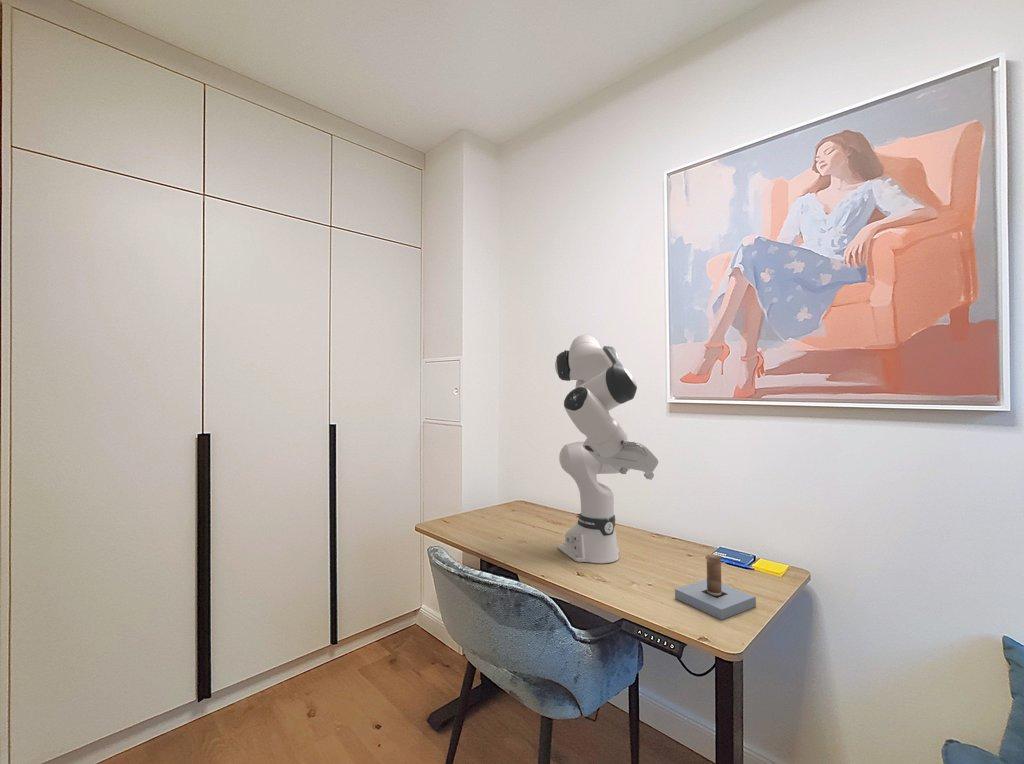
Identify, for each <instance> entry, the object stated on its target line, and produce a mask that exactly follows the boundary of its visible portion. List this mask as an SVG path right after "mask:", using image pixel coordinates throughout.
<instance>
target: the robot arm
mask: <svg viewBox="0 0 1024 764" xmlns="http://www.w3.org/2000/svg"><path fill="white" fill-rule="evenodd" d="M554 367H555V368H554V369H555V373H556V375H557V376H558V378H559V379H560V380H561V381H566V382H567V381H568V382H570V381H576V383H575V388H574V389H572V390H570V391H569V393H567V394H566V396H565V398H564V401H563V408H564V410H565V412H566V413H567V415H568V416H569V419H570V420H571V421H572V423H573V424H574V426H575V427H576V429H577V430H578V431H579V432H580V433H581V434H583V435H584V436H585V437H586V439H585V441H577V442H571V443H567V444H565V445H563V446H562V448H561V449H560V452H559V458H558V459H559V464H560V467H561V468H562V470H563V471H564V472H565V473H567V474H568V475H569V476H570V477H571V478H572V479H573V480H574V482H575V484H576V485H577V487H578V492H579V498H580V513H577V514H575V515H576V516H575V518H578V519H577V523H576V524H575V525H574V526H572V527H571V528H569V529H568V530H567V531H566V533H565V536H564V537H565V539H564V542H562V543H560V544H559V545H558V548H557V549H558V550H560V551H561V552H563V553H564V554H565V555H566V556H568V557H569V558H570V559H572V560H573V561H575V562H577V563H584V562H585V563H590V564H591V563H592V564H609V563H613V562H616V561H618V560H619V559H620V555H619V554H620V549H619V547H618V539H617V538H618V537H617V531H616V528H615V527H616V515H615V514H614V508H615V507H614V502H615V501H614V492H613V491H612V489H611V488H610V487H608V486H607V485H605V484H603V483H601V482H599V481H598V480H597V478H598V477H597V475H599V474H600V475H606V474H608V475H609V474H620V475H627V472H629V471H630V470H636V471H639V472H643V473H644V474H643V476H644V477H645V479H647V480H652V479H654V476H655V473H654V471H655V470H656V468H657V466H658V465H659V460H658V458H657V457H656V456H655V454H653V452H652V451H651V450H650V449H649V448H648V447H647V446H646V445H644V444H642V443H641V442H636V441H629V440H628V439H629V438H628V434H627V433H626V432H625V430H624V429H623V428H622V427H621V425H620V424H619V422H618V421H617V420H616V419H615V418H613V417H612V416H611V415H610V412H609V411H611V410H613V409H615V408H616V407H618V406H620V405H622V404H625V403H627V402H629V401H631V400H633V399H634V398H635V396H636V393H637V390H638V386H637V382H636V379H635V377H634V375H633V374H632V373H631V372H630V371H629V369H627V368H625V367H624V365H623V364H622V363H621V361H620V358H619V355H618V352H617V351H616V349H615V348H614V347H613V346H609V345H607V346H605V345H604V346H601V344H600V343H599V341H598V340H597V339H596V338H595V337H594V336H592V335H590V334H580V335H578V336H576V338H574V340H573V341H572V342H571V344H570V347H569V350H567V349H565V350H564V351H561V352H559V354H557V356H556V359H555V363H554Z"/></svg>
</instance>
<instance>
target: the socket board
mask: <svg viewBox="0 0 1024 764" xmlns="http://www.w3.org/2000/svg"><path fill="white" fill-rule="evenodd" d="M721 591H722V597H719V598H715V597H713V596H710V595H708V594H707V578H705V579H702V580H699V581H696V582H693V583H689V584H687V585H683V586H679V587H677V588H674V599H675V600H677V601H680V602H682V603H684V604H686V605H688V606H690V607H693V608H694V609H697V610H699V611H701V612H704V613H705V614H707V615H710V616H712V617H714V618H717V620H718V619H719V620H721V621H723V620H725V619H728V618H730V617H733V616H736V615H737V614H740V613H743V612H746V611H749V610H751V609H753V608H755V607H757V597H756V596H754V595H752V594H749V593H747V592H745V591H742V590H740V589H737V588H735V587H732V586H730V585H727V584H724V583H723V582H721Z"/></svg>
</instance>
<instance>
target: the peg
mask: <svg viewBox="0 0 1024 764" xmlns="http://www.w3.org/2000/svg"><path fill="white" fill-rule="evenodd" d="M706 579H707V594H708V595H710V596H713V597H715V598H719V597H722V591H721V583H722V557H721V555H718V554H714V553H708V554H706Z"/></svg>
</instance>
